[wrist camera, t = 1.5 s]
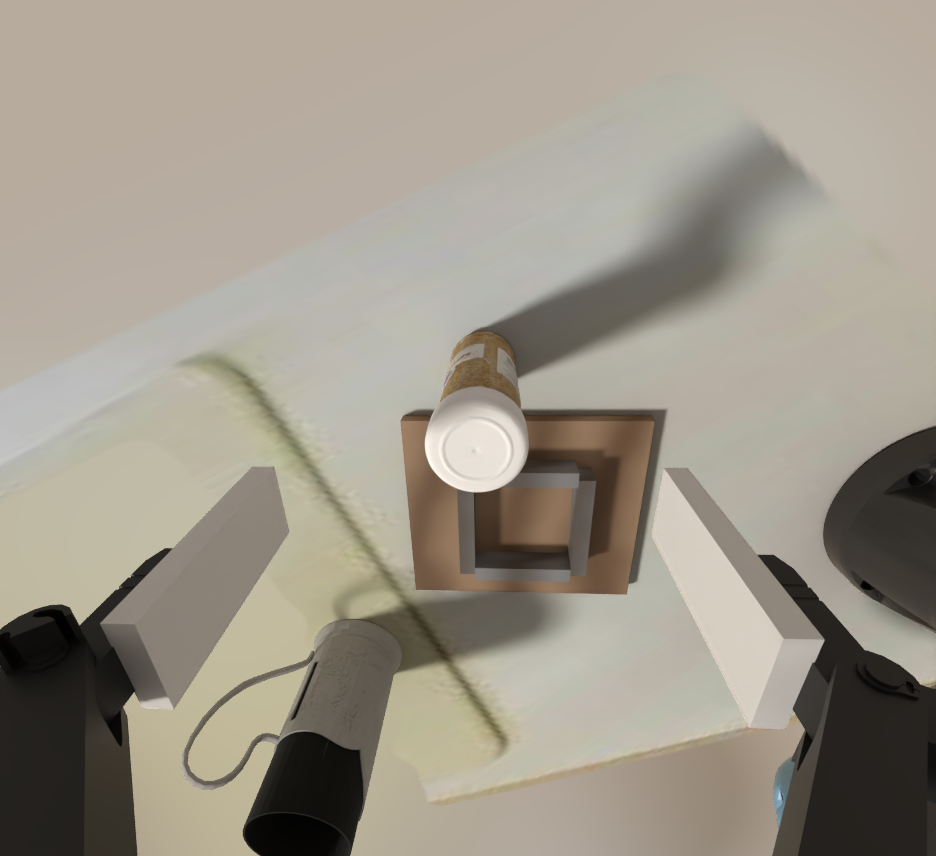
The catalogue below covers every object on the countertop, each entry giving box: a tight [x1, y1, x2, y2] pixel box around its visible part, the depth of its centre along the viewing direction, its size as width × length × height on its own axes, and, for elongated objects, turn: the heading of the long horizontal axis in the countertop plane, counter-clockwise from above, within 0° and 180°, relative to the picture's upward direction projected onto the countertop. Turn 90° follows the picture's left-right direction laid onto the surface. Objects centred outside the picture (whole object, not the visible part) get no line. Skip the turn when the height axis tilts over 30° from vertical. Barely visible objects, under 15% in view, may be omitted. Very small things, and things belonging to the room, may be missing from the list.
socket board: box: [401, 416, 655, 594], centre depth 35 cm, size 18×16×3 cm
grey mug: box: [181, 619, 402, 856], centre depth 37 cm, size 9×14×15 cm, turn 64°
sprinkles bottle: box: [425, 331, 529, 492], centre depth 25 cm, size 5×5×13 cm
